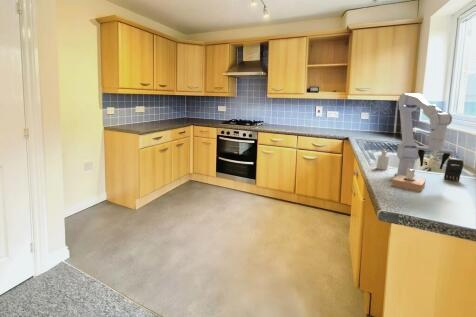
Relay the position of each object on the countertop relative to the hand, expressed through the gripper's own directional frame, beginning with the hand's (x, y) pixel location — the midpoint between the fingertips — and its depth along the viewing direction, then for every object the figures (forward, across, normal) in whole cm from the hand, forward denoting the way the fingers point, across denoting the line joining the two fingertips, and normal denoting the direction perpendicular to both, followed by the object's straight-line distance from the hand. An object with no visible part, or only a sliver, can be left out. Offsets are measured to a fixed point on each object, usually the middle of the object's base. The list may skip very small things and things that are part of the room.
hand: (430, 167), depth 134 cm
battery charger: (+10, +8, +23) cm, 26 cm away
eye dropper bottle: (+10, -25, +19) cm, 33 cm away
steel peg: (+9, -7, -6) cm, 13 cm away
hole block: (+9, -7, -6) cm, 13 cm away
